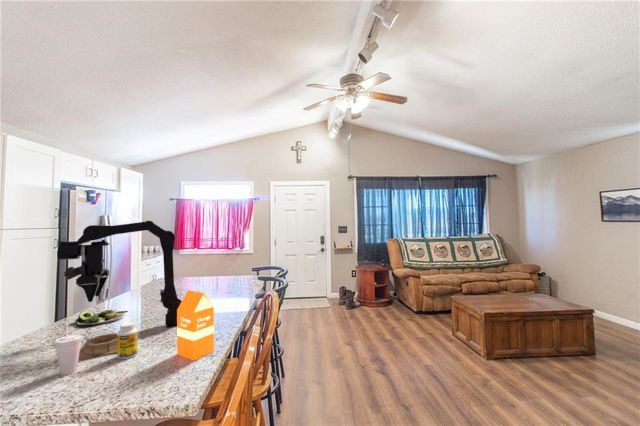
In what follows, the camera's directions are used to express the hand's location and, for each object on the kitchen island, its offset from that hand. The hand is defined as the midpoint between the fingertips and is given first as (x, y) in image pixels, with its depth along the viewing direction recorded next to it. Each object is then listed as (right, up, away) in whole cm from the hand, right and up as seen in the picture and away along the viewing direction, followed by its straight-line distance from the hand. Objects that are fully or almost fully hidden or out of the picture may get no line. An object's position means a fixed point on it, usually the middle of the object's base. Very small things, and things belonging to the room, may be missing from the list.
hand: (93, 298), depth 113 cm
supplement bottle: (+24, -14, -17) cm, 33 cm away
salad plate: (-13, -16, +20) cm, 29 cm away
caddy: (+12, -14, -12) cm, 22 cm away
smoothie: (+13, -14, -27) cm, 33 cm away
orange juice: (+45, -13, -15) cm, 50 cm away
